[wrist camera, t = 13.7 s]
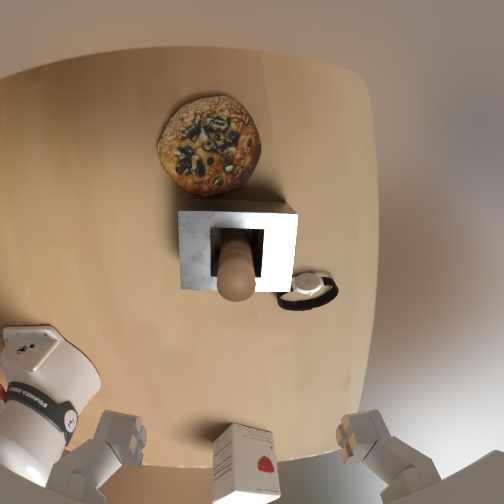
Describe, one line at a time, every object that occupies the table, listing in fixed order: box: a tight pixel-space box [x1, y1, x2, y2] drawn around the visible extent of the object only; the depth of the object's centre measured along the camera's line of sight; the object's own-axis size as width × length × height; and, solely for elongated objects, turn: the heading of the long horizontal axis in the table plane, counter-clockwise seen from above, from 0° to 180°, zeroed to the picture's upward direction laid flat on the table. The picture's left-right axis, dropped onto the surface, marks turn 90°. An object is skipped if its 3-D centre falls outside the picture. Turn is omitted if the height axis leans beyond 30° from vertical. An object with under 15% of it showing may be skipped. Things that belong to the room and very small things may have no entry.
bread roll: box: [158, 95, 261, 197], centre depth 28 cm, size 11×11×5 cm
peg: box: [217, 228, 256, 302], centre depth 27 cm, size 3×3×12 cm
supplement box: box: [211, 423, 281, 504], centre depth 40 cm, size 9×9×15 cm
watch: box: [277, 273, 339, 311], centre depth 34 cm, size 8×5×4 cm, turn 98°
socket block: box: [178, 199, 298, 292], centre depth 30 cm, size 11×8×6 cm
